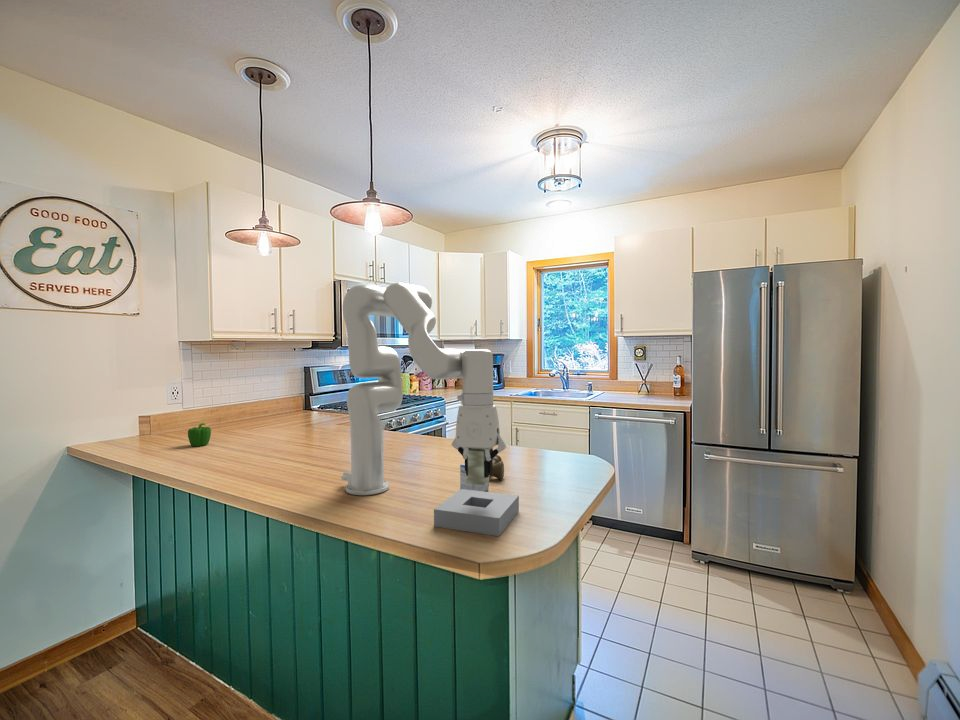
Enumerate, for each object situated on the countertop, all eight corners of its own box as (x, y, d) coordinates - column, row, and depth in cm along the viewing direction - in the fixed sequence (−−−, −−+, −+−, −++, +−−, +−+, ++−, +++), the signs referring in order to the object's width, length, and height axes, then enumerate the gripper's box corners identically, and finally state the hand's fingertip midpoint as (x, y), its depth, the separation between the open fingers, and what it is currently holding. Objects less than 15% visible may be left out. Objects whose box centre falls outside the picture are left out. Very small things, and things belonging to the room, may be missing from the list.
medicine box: (477, 487, 130) (477, 458, 130) (489, 490, 127) (489, 461, 127) (459, 494, 124) (459, 464, 124) (471, 497, 121) (471, 466, 121)
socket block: (434, 526, 101) (433, 509, 101) (461, 503, 116) (460, 488, 116) (499, 536, 96) (499, 518, 96) (518, 511, 111) (518, 495, 111)
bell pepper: (183, 447, 188) (183, 424, 188) (200, 443, 196) (200, 421, 196) (197, 448, 186) (197, 425, 185) (215, 444, 193) (214, 422, 193)
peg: (468, 483, 105) (467, 450, 104) (474, 478, 108) (473, 446, 108) (483, 485, 103) (483, 451, 103) (489, 480, 107) (488, 447, 107)
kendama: (508, 469, 152) (501, 485, 132) (481, 469, 154) (470, 484, 134) (508, 452, 152) (500, 465, 132) (481, 452, 154) (469, 465, 134)
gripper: (440, 400, 105) (441, 476, 105) (506, 402, 99) (507, 482, 99) (452, 397, 112) (453, 468, 112) (515, 399, 106) (516, 474, 106)
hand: (478, 474), depth 106 cm, fingers closed on peg, 4 cm apart
